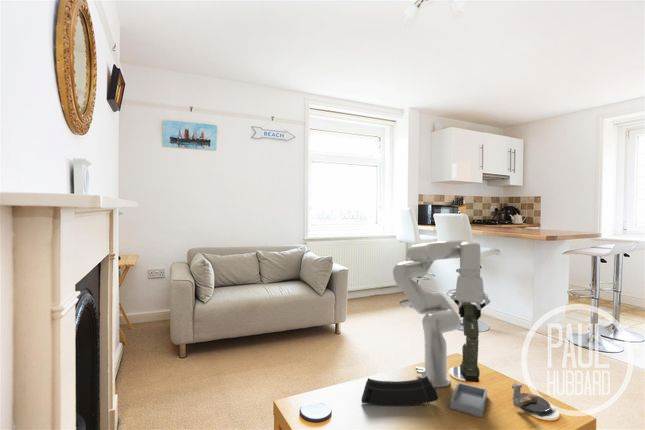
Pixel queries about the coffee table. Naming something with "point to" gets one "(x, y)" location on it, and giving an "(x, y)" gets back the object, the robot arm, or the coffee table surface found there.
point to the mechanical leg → (470, 344)
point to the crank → (518, 402)
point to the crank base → (536, 405)
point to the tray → (469, 399)
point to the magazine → (399, 392)
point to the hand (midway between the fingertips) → (469, 317)
